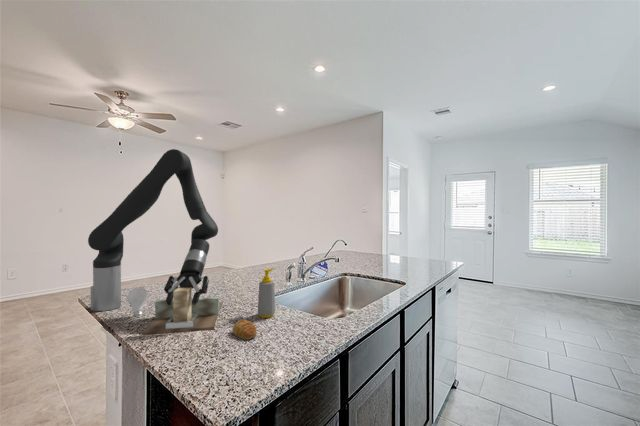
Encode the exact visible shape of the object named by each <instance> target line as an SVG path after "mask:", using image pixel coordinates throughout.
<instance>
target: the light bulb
mask: <svg viewBox="0 0 640 426" xmlns="http://www.w3.org/2000/svg"><path fill="white" fill-rule="evenodd" d="M148 296H149V295H148V291H147V290H146V288H143V287H137V286H136V287H135V288H132V289H131V290H129V292H128V294H127V296H126V300H127V303H128V304H129V305H130V307H131V309H132V311H133V312H132V315H133V316H139V315H142V314H143V309H144V304H145V303H146V301H147V300H148Z"/></svg>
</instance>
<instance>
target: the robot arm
mask: <svg viewBox="0 0 640 426" xmlns="http://www.w3.org/2000/svg"><path fill="white" fill-rule="evenodd" d="M174 175H175V177H176V178H177V179H178V181H179V184H180V187H181V189H182V197H183V203H184V205H185V208H186V211H187V214H188V215H189V218H190V219H191V220H192V221H196V220H197V221H198V220H199V222H200V224H199V225H197V226H194V227H193V229H192V231H191V236H190V237H191V240H190V241H191V242H190V244H191V245H190V247H189V250H188V253H187V254H186V256H185V258H184V261H183V263H182V266H181V269H180V272H179V275H178V276H173V275H170V276H169V277H168V279H167V281H166V284H165V286H164V288H163V291H164V292H165V293H166V294H167V296H166V298H165V300H166V302H167V304H168V305H171V303H172V300H173V291H175V290H176V289H177V288H188V287H191V290H193V289H194V290H195V292H194V294H193V297H192V298H193V300H192V304H193V305H196V303H198V300H199V298H201V297H200V296H201V295H203V294H204V295H205V294H207V292H208V287H209V283H210V280H209V277H208V276H207V275H204V277H203V276H202V275H203V272H204V269H205V266H206V262H207V257H208V253H209V251H210V243H209V242H208V240H210V239H212V238H214V237H216V236H217V235H218V232H219V228H218V224H217V223H216V222H215V220H214V219H213V218H212V216H211V215H210V213H209V212H208V211H207V208H206V206H205V203H204V201H203V198H202V196H201V193H200V191H199V188H198V185H197V183H196V180H195V179H196V178H195V175H194V171H193V165H192V162H191V159H190V157H189V156H188V155H187V154H186V153H184V152H182V151H181V150H179V149H175V148H172V149H168V150H167V151H166V152H164V153H163V155H162V156H161V157H160V159H159V160H158V161H157V162H156V164H155V165H154V166H153V168H152V169H151V171H149V173H147V174H146V175H145V177H144V178H143V179H142V180H140V182H139V183H138V184H137V185H136V186H135V187H134V188H133V189H132V191H130V193H129V194H128V195H127V196H126V197H125V198H124V199H123V201H122V202H121V203H120V204H119V205H118V206H117V207H116V208H115V209H114V210H113V212H112V213H111V214H110V215H108V217H107V218H105V220H103V221H102V222H101V223H100V224H99V225H98V226H96V228H94V229H93V230H92V231H90V233H89V236H88V239H87V243H88V246H89V247H90V248H91V249H92V250H94V251H98V254H97V256H96V257H95V259H93V261H92V283H93V284H92V285H91V286H90V311H94V312H106V311H111V310H115V309H117V308H120V307H121V306H122V260H123V256H124V244H125V243H124V240H125V239H124V234H123V231H124V230H125V229H126V228H127V226H129V225H130V224H132V223H133V222H135V221H136V220H137V219H139V218H141V217H142V216H143V215H145V214H146V213H147V212H148V211H149V210H150V209H151V208H152V207H153V205H155V203H157V200H158V199H159V197H160V195H161V193H162V191H163V188H164V186H165V185H166V183H168V181H169V180H170V179H171V178H172V177H173V176H174ZM200 283H202V285H201V288H199V287H198V285H199V284H200Z"/></svg>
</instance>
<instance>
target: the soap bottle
mask: <svg viewBox="0 0 640 426" xmlns="http://www.w3.org/2000/svg"><path fill="white" fill-rule="evenodd" d="M273 270H275V268H273V267H272V268H271V267H270V268H266V269H263V271H264V276H263V278H262V279H261V281H259V283H258V297H257V298H258V299H257V314H258V316H259V317H260V318H262V319H267V318H268V319H269V318H272V317H274V315H275V313H276V292H275V291H276V290H275V281H274V280H272V278H271V276H270V275H269V274H270V273H269V272H271V271H273Z"/></svg>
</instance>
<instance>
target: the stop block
mask: <svg viewBox="0 0 640 426" xmlns="http://www.w3.org/2000/svg"><path fill="white" fill-rule="evenodd" d="M191 298H192V289H191V287H188V288H177V289H176V290H175V291H173V322H181V321H191Z"/></svg>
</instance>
